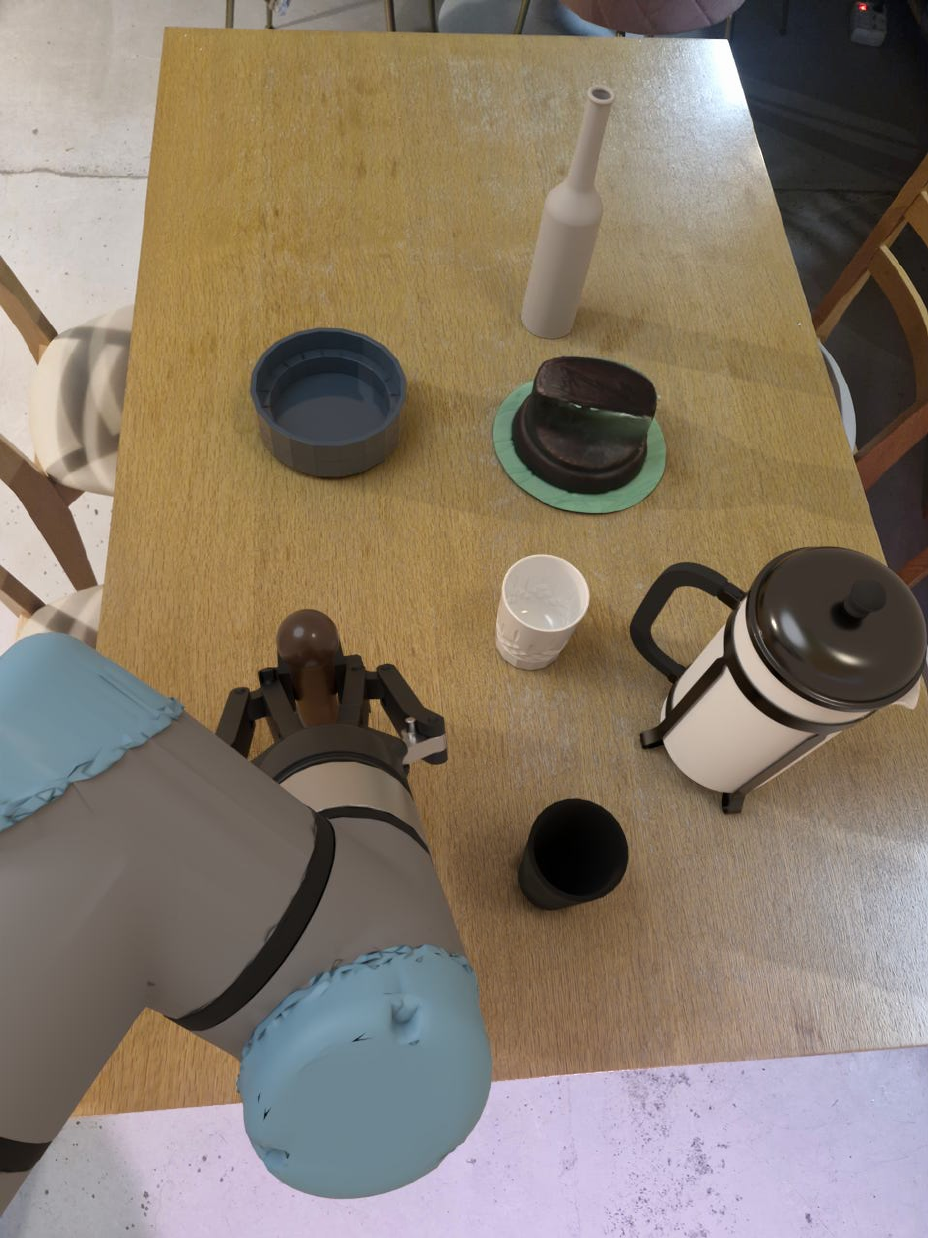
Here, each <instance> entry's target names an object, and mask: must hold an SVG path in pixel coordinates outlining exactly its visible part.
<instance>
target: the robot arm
mask: <svg viewBox="0 0 928 1238" xmlns="http://www.w3.org/2000/svg"><path fill="white" fill-rule="evenodd" d="M276 658H277V659H276V662H277V666H269V667H263V668H261V669H259V670H258V671H257V676H258V682H259V688H257V689H254V690H252V691H251V690H250V687H247V686H237V687H234V688H233V689H231V690H229V693H228V696H227V699H226V701H225V705H224V707H223V710H222V712H221V716H220V719H219V721H218V724H217V728H216V730H215V732H213V731H212V730H210V729H209V728H208V727H206V725H205V724H203V723H202V722H201V721H199V720H198V719H196V718H195V717H193V716H192V715H191V714H190V712H188V711H186V710H185V708H186V706H185V705H184V704H183V703H182V702H180V701H179V700H178V699H177V698H175V697H172V696H170V697H167V696H165V695H164V694H163V693H162V692H159V691H158V690H157V689H156V688H154V687H152V686H151V685H150V684H148V683H147V682H145V681H144V680H142V679H140V678H139V677H137V676H136V675H135V674H134V673H132V672H131V671H129V670H128V669H126V668H124V666H121V665H120V664H119V663H117V662H115V661H114V660H113V659H111V658H110V657H106V656H105V655H103V654H101V653H100V652H99V651H97V650H96V649H94V648H93V647H92V646H90V645H88V643H85V642H84V641H83V640H81V639H79V638H78V637H76V636H73V635H71V634H67V633H64V632H57V631H55V632H54V631H50V632H38V633H34V634H31V635H28V636H25V637H23V638H22V639H19V640H17V641H16V642H14V643H13V644H12V645H11V646H9V648H8V649H7V650H5V652H3V653H2V654H1V655H0V1218H2V1216H3V1214H4V1213H5V1211H6V1210H7V1209H8V1207H9V1205H10V1204H11V1202H12V1201H13V1199H14V1198H15V1196H16V1195H17V1194H18V1192H19V1190H20V1189H21V1187H22V1186H23V1184H24V1183H25V1181H26V1180H27V1179H28V1177H29V1176H30V1174H31V1172H32V1171H33V1170H34V1168H35V1166H36V1165H37V1163H39V1161H40V1160H41V1159H42V1158H43V1157H44V1155H45V1153H46V1152H47V1150H48V1148H49V1147H50V1146H51V1144H52V1143H53V1141H54V1140H55V1139H56V1138H57V1137H58V1135H59V1133H60V1132H61V1131H62V1130H63V1128H64V1127H65V1125H66V1123H67V1122H68V1120H69V1119H70V1117H71V1116H72V1114H73V1113H74V1111H75V1110H76V1108H77V1107H78V1106H79V1105H80V1103H81V1101H82V1100H83V1098H84V1097H85V1095H86V1094H87V1092H88V1091H89V1090H90V1088H91V1087H92V1085H93V1083H94V1082H95V1081H96V1079H97V1078H98V1077H99V1075H100V1073H101V1072H102V1070H103V1069H104V1067H105V1066H106V1065H107V1064H108V1062H109V1060H110V1059H111V1058H112V1056H113V1054H114V1053H115V1051H116V1050H117V1048H118V1047H119V1045H120V1044H121V1042H122V1041H123V1039H124V1038H125V1037H126V1036H127V1034H128V1032H129V1031H130V1030H131V1028H132V1026H133V1025H134V1023H135V1022H136V1020H137V1019H138V1017H139V1016H140V1015H142V1013H143V1012H144V1011H145V1010H146V1009H147V1008H148V1009H149V1010H152V1011H154V1012H156V1013H159V1014H161V1015H162V1016H163V1017H164V1018H166V1019H167V1020H168V1021H170V1022H172V1023H174V1024H176V1025H178V1026H179V1027H181V1028H183V1029H185V1030H186V1031H188V1032H190V1033H192V1034H193V1035H195V1036H197V1037H198V1038H200V1039H202V1040H204V1041H206V1042H208V1043H209V1044H211V1045H213V1046H215V1047H216V1048H219V1049H220V1050H222V1051H223V1052H225V1053H227V1054H229V1055H231V1056H232V1057H234V1058H235V1059H236V1060H237V1061H238V1062H239V1074H237V1080H236V1082H235V1085H236V1088H237V1089H236V1093H237V1094H239V1095H240V1098H241V1103H242V1113H243V1115H242V1118H243V1126H244V1131H245V1133H246V1135H247V1137H248V1139H249V1142H250V1144H251V1147H252V1148H253V1150H254V1152H255V1153H256V1156H257V1157H258V1158H259V1159H260V1160H261V1161H262V1163H263V1165H264V1167H265V1169H266V1170H267V1171H268V1173H270V1174H271V1175H272V1176H273V1177H274V1178H276V1179H277V1180H278V1181H280V1182H281V1183H283V1184H285V1185H286V1186H288V1187H290V1188H291V1189H292V1190H295V1191H298V1192H300V1193H303V1194H307V1195H309V1196H313V1197H317V1198H323V1199H328V1200H329V1199H330V1200H356V1199H364V1198H371V1197H376V1196H379V1195H384V1194H387V1193H391V1192H394V1191H397V1190H398V1189H401V1188H404V1187H406V1186H409V1185H411V1184H413V1183H415V1182H417V1181H418V1180H420V1179H422V1178H425V1176H427V1175H429V1174H430V1173H432V1172H434V1171H435V1170H436V1169H438V1167H439V1166H440V1165H441V1163H442V1162H443V1161H444V1160H445V1159H446V1157H448V1155H449V1154H451V1153H453V1152H455V1150H457V1149H458V1147H459V1146H461V1145H462V1144H464V1143H465V1142H466V1140H467V1139H468V1137H469V1136H470V1135H471V1133H473V1131H474V1129H475V1128H476V1126H477V1125H478V1123H479V1122H480V1120H481V1117H482V1115H483V1113H484V1110H485V1108H486V1106H487V1104H488V1100H489V1097H490V1092H491V1089H492V1081H493V1080H492V1079H493V1057H492V1049H491V1045H490V1041H489V1038H488V1037H489V1036H488V1034H487V1029H486V1026H485V1022H484V1018H483V1014H482V1011H481V1007H480V1003H479V1002H480V989H479V988H480V983H479V981H478V977H477V973H476V971H475V969H474V967H472V964H471V962H470V960H469V959H468V956H467V952H466V950H465V947H464V945H463V942H462V939H461V936H460V933H459V930H458V928H457V924H456V922H455V919H454V916H453V914H452V910H451V907H450V904H449V902H448V900H447V899H448V898H447V896H446V894H445V891H444V888H443V885H442V882H441V879H440V876H439V873H438V871H437V869H436V862H435V860H434V856H433V853H432V850H431V847H430V844H429V841H428V838H427V835H426V831H425V829H424V826H423V822H422V818H421V817H420V813H419V809H418V807H417V805H416V802H415V798H414V795H413V792H412V790H411V787H410V786H411V785H410V783H409V780H408V776H409V775H410V770H411V765H410V764H412V763H415V762H417V761H420V760H421V761H423V762H424V763H426V764H429V765H432V766H440V765H443V764H445V763H447V762H448V760H449V755H448V742H447V741H448V740H447V731H446V724H445V723H446V722H445V717H444V716H442V714H439V713H436V712H435V711H434V710H431V709H429V708H427V707H425V706H424V705H423V703H422V702H421V701H420V699H419V697H418V696H417V695H416V693H415V692H414V691H413V689H412V688H411V686H410V685H409V684H408V682H407V681H406V679H405V678H404V676H403V675H402V674H401V672H400V671H399V670H398V668H397V667H396V665H395V664H393V663H382V664H379V665H377V666H376V669H375V670H374V671H372V670H367V669H366V666H365V665H364V662H363V661H364V660H363V658H362V656H361V655H360V654H358V653H355V654H348V655H344V649H343V646H342V642H341V639H340V637H339V646H338V650H337V652H336V655H335V656H334V663H335V675H336V686H337V695H338V699H339V704H342V705H341V706H339V710H338V717H337V722H336V723H333V724H323V725H317V726H313V727H309V728H305V727H303V725H302V723H301V720H300V718H299V716H298V714H297V713H296V714H295V713H294V712H296V701H295V696H294V691H293V686H292V682H291V677H290V673H289V668H288V664H287V663H286V662H285V661H284V660H283V659H282V658H281V656H280V654H279V652H278V649H277V648H276ZM372 700H379V704H380V706H381V708H382V709H383V711H384V712H385V714H386V716H387V718H388V720H389V721H390V723H391V725H392V727H393V728H394V730H395V731H396V733H397V735H398V736H395V735H392V734H390V733H387V732H384V731H381V730H379V729H376V728H373V727H370V726H369V724H370V714H372V708H371V707H372V706H371V701H372ZM264 718H265V721H266V723H267V724H266V725H267V726H268V729H269V732H270V734H271V737H272V740H273V743H271V745H269V746H268V747H267V748H265V749H263V751H261V752H260V753H259V754H258V755H256V756H255V757H254V758H253V759H251V760H248V759H249V754H250V750H251V747H252V742H253V739H254V735H255V732H256V727H257V724H256V721H258V720H261V719H264Z"/></svg>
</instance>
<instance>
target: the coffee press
mask: <svg viewBox="0 0 928 1238" xmlns="http://www.w3.org/2000/svg"><path fill="white" fill-rule="evenodd" d="M683 587H691V588H695V589H699V590H701V591H703V592H704V593H707V594H708V595H710V596H712V597H714V598H715V597H716V598H717V599H718V600H719V602H721V603H722V604H724V605H725V606H727V607H728V608H729V609H730V610H731V611H730V613H729V614H728V617H727V619H726V622H725V623H724V624H723V625H722V627H720V629H719V630H718V632H717V633H716V634H715V635H714V637H712V639H711V640H710V642H709V643H708V644H707V645H706V647H705V648H703V650H702V651H701V653H700V654H699V655H698V656H697V657H696V659H695V660H694V661H693V662H691V663H689V664H688V665H687V666H685V665H683V664H682V663H679V662H677V661H676V660H674V658H672V657H671V656H669V655H668V654H667V653H666V652H665V651H663V649H661V648H660V647H659V645H657V643H656V641H655V640H654V637H653V635H652V627H653V624H654V623H655V621H656V619H658V616H659V615H660V613H661V611H662V610H663V609H664V607H665V605H666V604H667V602H668V601H669V599H670V598H671V597H672V595H673V593H674V592H675V590H677V589H680V588H683ZM629 636H630V640H631V642H632V645H633V646H634V648H635V650H636V651H637V652H638V654H640V656H641V657H642V658H643V660H644V661H646V662H647V663H648V664H650V665H651V667H653V668H654V669H655V670H656V671H657V672H659V673H660V674H661V675H662V676H664V677H665V678H666V680H667V681H668V682H669V683H671V684H672V685H671V686H670V689H669V691H668V693H667V696H666V698H665V700H664V702H663V704H662V708H661V710H660V711H661V712H660V720H659V721H660V723H659V724H658V725H656V726H654V727H652V728H650V729H647V730H645V731H642V732H640V733H639V734H638V735H639V742H640V746H641V749H642V750H652V749H656V748H660V747H665V749H666V751H667V753H668V755H669V757H670V758H671V760H672V761H673V763H674V764H675V766H677V768H678V769H679V770H680V771H681V772H682V773H683V774H684V775H686V776H687V777H688V778H689V779H690V780H692V781H693V782H695V783H697V784H699V785H700V786H703V787H705V788H707V789H710V790H712V791H716V792H719V793H721V801H720V807H721V811H722V813H723V814H724V815H726V816H727V815H740V814H742V811H743V808H744V803H745V799H746V796H747V795H749V793H750V792H752V791H753V790H756V789H758V788H761V786H763V785H766V784H767V783H768V782H770V781H771V780H774V779H775V778H776V777H778V776H779V775H781V774H782V773H784V772H785V771H787V770H788V769H789V768H790V767H792V766H793V765H795V764H796V763H798V762H799V761H801V760H802V759H804V758H805V757H806V756H808V755H809V754H811V753H812V752H814V751H815V750H817V749H819V748H820V747H821V746H823V745H824V744H826V743H827V742H828V741H830V740H832V739H833V738H834V737H836V736H837V735H839V734H840V733H841V732H843V731H846V730H849V729H851V728H854V727H855V726H857V725H859V724H861V723H862V722H863V721H866V719H868V718H869V717H871V716H872V715H874V714H875V713H876V712H877V711H879V710H881V709H884V708H886V707H888V706H894V705H899V706H902V707H903V708H905V709H908V710H914V709H915V708H916V707H917V705H918V701H919V696H920V690H921V679H922V678H921V677H922V675H923V672H924V669H925V665H926V662H927V656H928V640H927V639H928V633H927V625H926V620H925V616H924V613H923V611H922V608H921V605H920V604H919V601H918V600H917V598H916V596H915V594H914V593H913V591H912V590H911V588H909V586H908V585H907V583H906V582H905V581H904V580H903V579H902V578H901V577H900V576H899V575H898V574H897V573H896V572H895V571H894V570H892V569H891V568H889V566H887V565H886V564H885V563H883V562H881V561H879V560H877V559H876V558H874V557H872V556H870V555H868V554H865V553H864V552H861V551H858V550H854V549H851V548H848V547H842V546H835V545H834V546H833V545H820V546H803V547H798V548H794V549H791V550H787V551H785V552H783V553H780V554H779V555H777V556H775V557H774V558H772V559H771V560H770V561H769V562H767V563H766V565H764V566H763V567H762V568H761V569H760V571H759V572H758V573H757V574H756V576H755V578H754V579H753V580H752V582H751V585H750V587H749V589H748V590H746V591H744V590H742V589H741V588H740V587H739V586H737V585H736V584H734V583H733V582H730V581H729V578H727V577H726V576H724V575H723V574H721V573H720V572H719V571H717V570H715V569H713V568H711V567H709V566H707V565H705V564H701V563H698V562H694V561H680V562H675V563H673V564H671V565H670V566H668V567H667V568H665V569H664V570H663V571H662V572H661V573H660V574H659V576H658V577H657V578H656V579H655V580H654V581H653V583H652V584H651V586H650V587H649V589H648V591H647V592H646V594H645V595H644V597H643V599H642V600H641V602H640V604H639V605H638V607H637V608H636V610H635V613H634V614H633V616H632V618H631V621H630V624H629Z"/></svg>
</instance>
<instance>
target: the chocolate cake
mask: <svg viewBox="0 0 928 1238" xmlns="http://www.w3.org/2000/svg"><path fill="white" fill-rule="evenodd" d="M660 399H661V395H659V394H658V393H657V387H655V385H654V381H652V380H651V379H650V378H649V377H648V376H647V375H646V374H644V373H643V372H642V371H640V370H638V369H637V368H635V367H634V366H633V365H631V364H627V363H623V362H619V361H616V360H614V359H611V358H608V357H597V356H591V355H590V356H589V355H588V356H579V355H561V356H557V357H555V356H554V357H553V358H549V359H546V360H544V361H543V362H542V363H541V365H540V366H539V367H538V368H537V372H536V374H535V376H534V378H533V380H531V381H528V382H526V383H524V384H522V385H521V386H519V387H517V388H515V389H514V390H513V391H512V392H511V393H510V394H509V395H508V396H507V397H506V398H505V399H504V400H503V402H502V403H501V404H500V406H499V408H498V410H497V412H496V415H495V417H494V421H493V425H492V442H493V448H494V451H495V454H496V456H497V458H498V460H499V461H500V463H501V465H502V467H503V468H504V471H505V472H506V474H507V475H508V476H509V477H510V478H511V479H512V480H513V481H514V483H515V484H516V485H518V486H519V487H520V488H521V489H522V490H523V491H525V492H527V493H528V494H530V495H531V496H533V497H534V498H536V499H538V500H540V502H542V503H545V504H547V505H549V506H552V507H555V508H558V509H561V510H567V511H571V512H577V513H587V514H602V513H603V514H605V513H612V512H618V511H622V510H626V509H628V508H630V507H633V506H634V505H637V504H639V503H640V502H641V501H643V500H644V499H646V497H647V496H649V494H650V493H651V492H652V491H654V489H655V488H656V487H657V485H658V483H659V482H660V480H661V478H662V477H663V474H664V471H665V469H666V468H665V467H666V460H667V446H666V442H665V438H664V434H663V431H662V428H661V426H660V424H659V422H658V421H657V420H656V418H655V416H656V412H657V406H658V402H661V401H660Z"/></svg>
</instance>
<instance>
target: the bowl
mask: <svg viewBox="0 0 928 1238" xmlns="http://www.w3.org/2000/svg"><path fill="white" fill-rule="evenodd" d="M249 386H250V387H249V394H250V395H249V396H250V399H251V404H252V411H253V415H254V421H255V422H254V423H255V425H256V428H257V429H256V430H257V432H258V435H259V437H260V441H261V442H262V444H263V445H264V446H265V447H266V449H267V450H268V451H269V452H270V453H271V455H273V457H274V458H275V459H276V460H277V461H280V462H281V463H283V464H284V465H286V466H288V467H289V468H290V469H292V470H295V471H298V472H301V473H304V474H308V475H312V476H315V477H333V478H334V477H336V478H337V477H346V476H350V475H355V474H358V473H359V474H360V473H362V472H366V471H368V470H369V469H371V468H373V467H374V466H376V465H379V464H380V463H382V462H383V461H385V460H386V459H387V458H388V457H389V456H390V454H391V453H392V452H393V451H394V450H395V449H396V448H397V447H398V445H399V443H400V441H401V438H402V436H403V433H404V431H405V427H406V413H407V412H406V410H407V377H406V374H405V372H404V370H403V368H402V365H401V363H400V360H399V359H398V358H397V357H396V356H395V355H394V354H393V353H392V352H391V350H389V349H388V347H387V346H386V345H384V344H383V343H381V342H379V341H378V340H376V339H374V338H372V337H370V336H369V335H367V334H365V333H362V332H358V331H354V330H351V329H347V328H343V327H322V326H321V327H314V328H308V329H303V330H298V331H295V332H293V333H290V334H289V335H286V336H284V337H282V338H280V339H278V340H276V341H275V342H274V343H273V344H272V345H270V346H269V347H267V349H266V350H265V351H264V352H263V353H261V354H260V355H259V358H258V360H257V362H256V364H255V365H254V367H253V369H252V371H251V375H250V384H249Z"/></svg>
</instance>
